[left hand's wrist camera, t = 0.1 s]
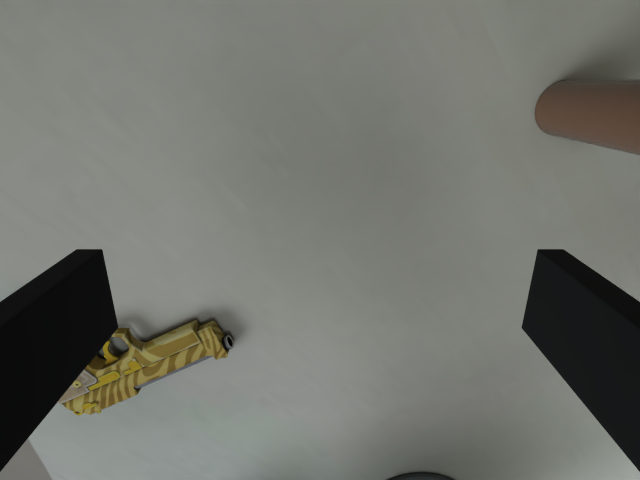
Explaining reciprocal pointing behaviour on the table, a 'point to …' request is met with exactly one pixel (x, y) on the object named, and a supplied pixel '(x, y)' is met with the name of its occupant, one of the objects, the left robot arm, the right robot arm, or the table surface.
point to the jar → (593, 112)
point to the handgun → (142, 365)
